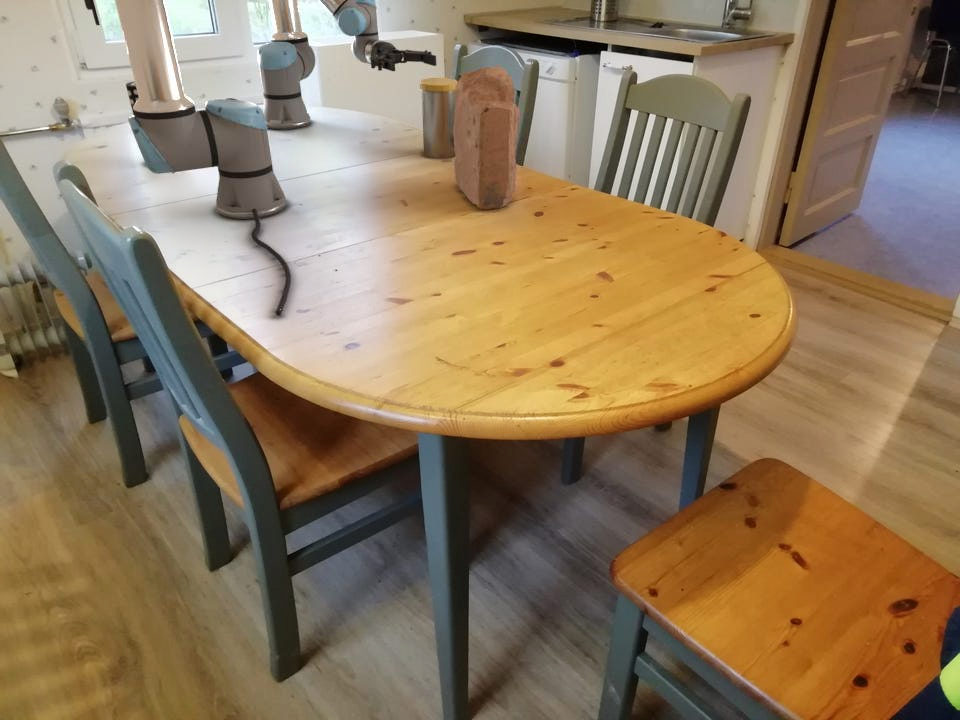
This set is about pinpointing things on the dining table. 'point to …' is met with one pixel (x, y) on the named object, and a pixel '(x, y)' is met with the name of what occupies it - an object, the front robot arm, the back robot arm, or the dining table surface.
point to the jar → (438, 123)
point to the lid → (438, 84)
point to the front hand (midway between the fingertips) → (128, 23)
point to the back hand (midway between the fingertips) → (414, 63)
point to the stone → (485, 137)
